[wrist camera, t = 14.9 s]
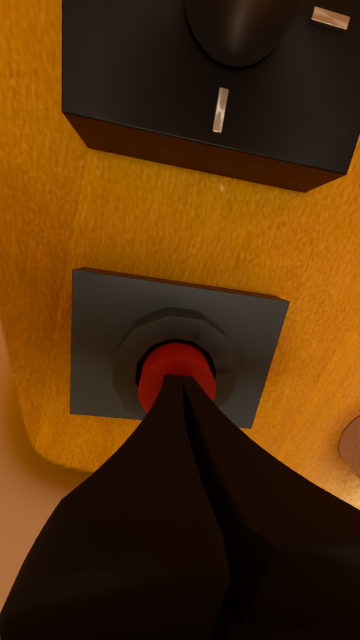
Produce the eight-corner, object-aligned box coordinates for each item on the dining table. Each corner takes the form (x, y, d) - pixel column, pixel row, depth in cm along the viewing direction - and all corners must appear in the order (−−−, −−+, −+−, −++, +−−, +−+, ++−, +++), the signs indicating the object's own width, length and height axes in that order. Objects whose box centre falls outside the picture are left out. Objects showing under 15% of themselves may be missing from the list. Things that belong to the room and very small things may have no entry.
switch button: (138, 398, 12) (134, 421, 10) (146, 337, 11) (142, 353, 9) (202, 404, 12) (207, 427, 11) (214, 346, 11) (223, 362, 10)
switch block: (79, 397, 15) (55, 437, 12) (83, 267, 13) (55, 272, 10) (243, 411, 17) (262, 451, 13) (275, 296, 14) (310, 309, 11)
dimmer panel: (87, 147, 11) (59, 109, 8) (96, -118, 9) (59, -316, 6) (305, 193, 12) (349, 173, 9) (367, -28, 10) (456, -150, 7)
